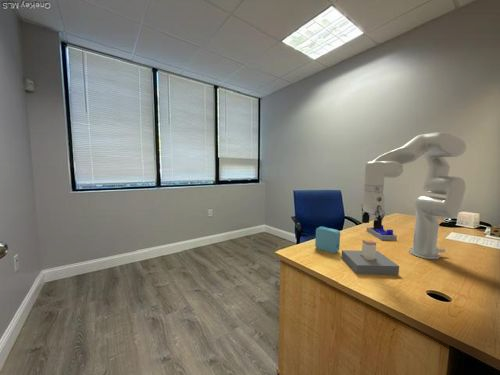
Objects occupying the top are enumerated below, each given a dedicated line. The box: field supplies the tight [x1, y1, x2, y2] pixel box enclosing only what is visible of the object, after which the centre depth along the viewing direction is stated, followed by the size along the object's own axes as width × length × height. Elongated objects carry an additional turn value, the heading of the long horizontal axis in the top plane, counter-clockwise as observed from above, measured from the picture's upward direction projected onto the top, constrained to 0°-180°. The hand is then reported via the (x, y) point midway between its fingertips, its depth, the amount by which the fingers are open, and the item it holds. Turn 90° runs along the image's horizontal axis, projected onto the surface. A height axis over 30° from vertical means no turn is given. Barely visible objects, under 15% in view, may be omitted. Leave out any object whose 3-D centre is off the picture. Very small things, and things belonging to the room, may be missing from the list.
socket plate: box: [341, 249, 400, 276], centre depth 99 cm, size 18×16×4 cm
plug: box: [361, 239, 377, 260], centre depth 99 cm, size 4×4×12 cm
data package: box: [314, 226, 341, 254], centre depth 117 cm, size 12×4×12 cm, turn 45°
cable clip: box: [375, 224, 394, 235], centre depth 142 cm, size 12×4×6 cm, turn 179°
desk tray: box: [366, 226, 398, 241], centre depth 142 cm, size 10×18×3 cm, turn 179°
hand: (371, 225), depth 97 cm, fingers open, 9 cm apart
